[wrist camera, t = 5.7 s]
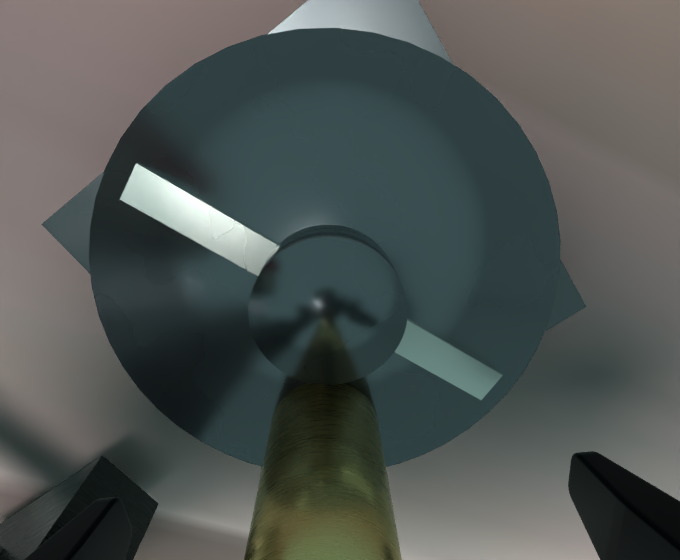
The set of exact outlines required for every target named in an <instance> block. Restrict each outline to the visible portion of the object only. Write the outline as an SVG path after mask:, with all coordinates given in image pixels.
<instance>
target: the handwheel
mask: <svg viewBox="0 0 680 560" xmlns="http://www.w3.org/2000/svg"><path fill="white" fill-rule="evenodd" d="M89 264H90V274H91V283H92V290H93V294H94V298H95V302H96V306H97V310H98V314H99V317H100V320H101V322H102V325H103V327H104V330H105V332H106V335H107V337H108V340H109V342H110V344H111V346H112V348H113V350H114V351H115V353H116V355H117V357H118V359H119V360H120V362H121V364H122V366H123V367H124V369H125V370H126V372H127V373H128V374H129V376H130V377H131V378H132V380H133V381H134V383H135V384H136V385H137V387H138V388H139V389H140V390H141V391H142V393H143V394H144V395H145V396H146V397H147V398H148V399H149V400H150V401H151V402H152V403H153V404H154V405H155V406H156V407H157V409H159V410H160V411H161V412H162V413H163V414H164V415H166V416H167V417H168V418H169V419H170V420H172V421H173V422H174V423H175V424H176V425H177V426H179V427H180V428H182V429H183V430H185V431H186V432H188V433H189V434H191V435H192V436H194V437H195V438H197V439H198V440H200V441H201V442H203V443H205V444H207V445H209V446H211V447H213V448H215V449H217V450H219V451H221V452H223V453H225V454H227V455H230V456H233V457H235V458H238V459H240V460H243V461H246V462H248V463H252V464H256V465H259V466H263V467H262V472H261V477H260V482H259V487H258V492H257V497H256V502H255V507H254V512H253V517H252V522H251V527H250V532H249V537H248V542H247V547H246V552H245V557H244V560H402V559H401V553H400V547H399V541H398V535H397V530H396V524H395V518H394V512H393V506H392V501H391V495H390V489H389V483H388V477H387V472H386V467H387V466H391V465H395V464H399V463H402V462H404V461H407V460H410V459H412V458H415V457H418V456H420V455H423V454H425V453H427V452H429V451H431V450H433V449H435V448H437V447H439V446H441V445H443V444H445V443H447V442H448V441H450V440H452V439H453V438H455V437H456V436H458V435H459V434H461V433H463V432H464V431H466V430H467V429H469V428H470V427H471V426H472V425H473V424H475V423H476V422H477V421H478V420H480V419H481V418H482V417H483V416H485V415H486V414H487V413H488V412H489V411H490V410H491V409H492V408H493V407H494V406H495V405H496V404H497V403H498V402H499V401H500V400H501V399H502V398H503V397H504V396H505V395H506V394H507V393H508V391H509V390H510V389H511V387H512V386H513V385H514V384H515V382H516V381H517V380H518V378H519V377H520V376H521V375H522V373H523V372H524V370H525V368H526V367H527V365H528V363H529V362H530V360H531V358H532V357H533V355H534V353H535V352H536V350H537V347H538V345H539V343H540V341H541V338H542V336H543V334H544V332H545V329H546V327H547V325H548V321H549V318H550V315H551V311H552V308H553V304H554V301H555V297H556V290H557V284H558V278H559V271H560V235H559V227H558V218H557V211H556V207H555V203H554V200H553V196H552V192H551V188H550V185H549V181H548V179H547V177H546V174H545V172H544V170H543V167H542V165H541V163H540V160H539V158H538V156H537V153H536V151H535V150H534V148H533V147H532V145H531V143H530V142H529V140H528V139H527V137H526V135H525V134H524V132H523V131H522V129H521V127H520V126H519V124H518V123H517V122H516V121H515V119H514V118H513V117H512V116H511V115H510V114H509V112H508V111H507V110H506V109H505V108H504V106H503V105H502V104H501V103H500V102H499V101H498V99H497V98H496V97H494V96H493V95H492V94H491V93H490V92H489V91H488V90H486V89H485V88H484V87H483V86H482V85H481V84H480V83H478V82H477V81H476V80H475V79H474V78H473V77H472V76H470V75H469V74H467V73H466V72H464V71H462V70H461V69H459V68H458V67H456V66H455V65H453V64H451V63H450V62H448V61H447V60H445V59H444V58H442V57H440V56H438V55H436V54H434V53H431V52H429V51H427V50H425V49H422V48H420V47H418V46H416V45H413V44H411V43H409V42H406V41H402V40H399V39H395V38H392V37H388V36H384V35H381V34H377V33H374V32H367V31H358V30H350V29H342V28H309V29H294V30H289V31H283V32H278V33H272V34H267V35H261V36H259V37H256V38H253V39H250V40H247V41H244V42H241V43H238V44H235V45H232V46H229V47H227V48H225V49H223V50H221V51H219V52H217V53H215V54H213V55H211V56H209V57H207V58H206V59H204V60H202V61H200V62H198V63H196V64H194V65H193V66H192V67H190V68H189V69H187V70H186V71H185V72H183V73H182V74H181V75H179V76H178V77H177V78H175V79H174V80H172V81H171V82H170V83H168V84H167V85H166V86H165V87H164V88H163V89H162V90H161V91H160V92H159V93H158V94H157V95H156V96H155V97H154V98H153V99H152V100H151V101H150V102H149V103H148V104H147V105H146V106H145V107H144V108H143V109H142V110H141V111H140V112H139V114H138V115H137V117H136V118H135V119H134V121H133V122H132V123H131V125H130V126H129V127H128V129H127V130H126V132H125V133H124V134H123V136H122V137H121V139H120V141H119V143H118V145H117V146H116V148H115V150H114V152H113V154H112V156H111V158H110V160H109V162H108V164H107V166H106V168H105V171H104V174H103V177H102V180H101V183H100V186H99V189H98V192H97V194H96V198H95V203H94V209H93V214H92V219H91V225H90V241H89Z"/></svg>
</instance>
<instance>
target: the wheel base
mask: <svg viewBox="0 0 680 560" xmlns="http://www.w3.org/2000/svg"><path fill="white" fill-rule="evenodd" d="M309 28H342V29H350V30H358V31H367V32H374V33H377V34H381V35H384V36H388V37H392V38H395V39H399V40H402V41H406V42H409V43H411V44H413V45H416V46H418V47H420V48H422V49H425V50H427V51H429V52H431V53H434V54H436V55H438V56H440V57H442V58H444V59H445V60H447V61H448V62H450V63H451V64H453V63H452V61H451V60H450V58H449V56H448V54H447V52H446V50H445V49H444V47H443V45H442V43H441V41H440V39H439V38H438V36H437V34H436V32H435V30H434V29H433V27H432V25H431V23H430V21H429V19H428V18H427V16H426V14H425V12H424V10H423V9H422V7H421V5H420V3H419V1H418V0H308V1H307V2H305V3H304V4H303V5H302V6H301V7H300V8H298V9H297V10H296V11H295V12H294V13H292V14H291V15H290V16H289V17H288V18H286V19H285V20H284V21H283V22H282V23H280V24H279V25H278V26H277V27H276V28H275V29H273V30H272V31H271V32H270V33H269V34H272V33H278V32H283V31H289V30H294V29H309ZM103 174H104V172H103V173H102V174H101V175H100V176H98V177H97V178H96V179H95V180H94V181H92V182H91V183H90V184H89V185H88V186H87V187H85V188H84V189H83V190H82V191H81V192H79V193H78V194H77V195H76V196H75V197H73V198H72V199H71V200H70V201H69V202H67V203H66V204H65V205H64V206H63V207H62V208H60V209H59V210H58V211H57V212H56V213H54V214H53V215H52V216H51V217H50V218H48V219H47V220H46V221H45V222H44V223H43V224H42V225H43V226H44V227H45V228H46V229H47V230H48V231H49V232H50V233H51V234H52V236H53V237H54V238H55V239H56V240H57V241H58V242H59V243H60V244H61V245H62V246H63V247H64V248H65V249H66V250H67V251H68V252H69V253H70V254H71V255H72V256H73V257H74V258H75V259H76V260H77V261H78V262H79V263H80V264H81V265H82V266H83V267H84V268H85V269H86V270H87V271H88V272H89V273H90V264H89V241H90V225H91V219H92V214H93V209H94V203H95V198H96V194H97V192H98V189H99V186H100V183H101V180H102V177H103ZM585 307H586V305H585V304H584V302H583V300H582V298H581V296H580V294H579V293H578V291H577V289H576V287H575V285H574V284H573V282H572V280H571V278H570V276H569V274H568V273H567V271H566V269H565V267H564V265H563V264H562V262H561V260H560V271H559V278H558V284H557V290H556V297H555V301H554V304H553V308H552V311H551V315H550V318H549V321H548V325H547V327H546V329H545V331H546V330H548V329H549V328H551V327H553V326H554V325H556V324H558V323H560V322H561V321H563V320H565V319H566V318H568V317H570V316H571V315H573V314H575V313H576V312H578V311H580V310H581V309H583V308H585Z"/></svg>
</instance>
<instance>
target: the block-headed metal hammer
mask: <svg viewBox="0 0 680 560" xmlns="http://www.w3.org/2000/svg"><path fill="white" fill-rule="evenodd" d="M110 497H119V498H120V499H121V500H122V502H123V505H124V507H125V510H126V513H127V516H128V518H129V521H130V524H131V529H132V535H131V540H130V544H129V547H128V551H127V554H126V557H125V560H133V558H134V556H135V554H136V552H137V550H138V547H139V545H140V543H141V541H142V539H143V536H144V534H145V532H146V530H147V528H148V526H149V523H150V521H151V519H152V517H153V515H154V513H155V510H156V508H157V506H158V503H157V502H156V501H155V500H154V499H152V498H151V497H150V496H149V495H148V494H147V493H145V492H144V491H143V490H142V489H141V488H140V487H138V486H137V485H136V484H135V483H134V482H133V481H131V480H130V479H129V478H128V477H127V476H126V475H124V474H123V473H122V472H121V471H120V470H119V469H117V468H116V467H115V466H114V465H113V464H112V463H110V462H109V461H108V460H107V459H106V458H105V457H103V456H101V457H99V458H98V459H96V460H95V461H93V462H92V463H90V464H89V465H87V466H86V467H84V468H83V469H81V470H80V471H78V472H77V473H75V474H74V475H72V476H71V477H69V478H68V479H66V480H65V481H64V482H62V483H61V484H59V485H58V486H56V487H55V488H53V489H52V490H50V491H49V492H47V493H46V494H44V495H43V496H41V497H40V498H38V499H37V500H35V501H34V502H32V503H31V504H29V505H28V506H26V507H25V508H23V509H22V510H20V511H19V512H17V513H16V514H14V515H13V516H11V517H10V518H9V519H7V520H6V521H4V522H3V523H1V524H0V560H24V559H25V558H26V557H27V556H29V555H30V554H31V553H32V552H33V551H35V550H36V549H37V548H38V547H39V546H41V545H42V544H43V543H44V542H45V541H47V540H48V539H49V538H50V537H52V536H53V535H54V534H55V533H56V532H58V531H59V530H60V529H61V528H62V527H64V526H65V525H66V524H67V523H69V522H70V521H71V520H72V519H73V518H75V517H76V516H77V515H78V514H79V513H81V512H82V511H83V510H84V509H85V508H87V507H88V506H89V505H90V504H92V503H93V502H94V501H96V500H97V499H101V498H110Z"/></svg>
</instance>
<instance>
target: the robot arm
mask: <svg viewBox="0 0 680 560" xmlns="http://www.w3.org/2000/svg"><path fill="white" fill-rule="evenodd" d="M568 487H569V493H570V496H571V498H572V501H573V503H574V505H575V507H576V509H577V511H578V513H579V516H580V518H581V520H582V522H583V524H584V526H585V528H586V530H587V533H588V535H589V537H590V539H591V541H592V543H593V545H594V547H595V549H596V552H597V554H598V556H599V558H600V560H680V501H678V500H677V499H675V498H673V497H672V496H670V495H668V494H667V493H665V492H663V491H661V490H660V489H658V488H656V487H655V486H653V485H651V484H650V483H648V482H646V481H645V480H643V479H641V478H640V477H638V476H636V475H635V474H633V473H631V472H629V471H628V470H626V469H624V468H623V467H621V466H619V465H618V464H616V463H614V462H613V461H611V460H609V459H608V458H606V457H604V456H603V455H601V454H599V453H597V452H593V451H591V452H580V453H575V454H574V455H573V456H572V458H571V466H570V474H569V482H568ZM131 535H132V529H131V524H130V521H129V518H128V516H127V513H126V510H125V507H124V505H123V502H122V500H121V499H120V498H119V497H110V498H101V499H97V500H96V501H94V502H93V503H92V504H90V505H89V506H88V507H87V508H85V509H84V510H83V511H82V512H81V513H79V514H78V515H77V516H76V517H75V518H73V519H72V520H71V521H70V522H69V523H67V524H66V525H65V526H64V527H62V528H61V529H60V530H59V531H58V532H56V533H55V534H54V535H53V536H52V537H50V538H49V539H48V540H47V541H45V542H44V543H43V544H42V545H41V546H39V547H38V548H37V549H36V550H35V551H33V552H32V553H31V554H30V555H29V556H27V557H26V558H25V559H24V560H125V557H126V554H127V551H128V547H129V544H130V540H131Z"/></svg>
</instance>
